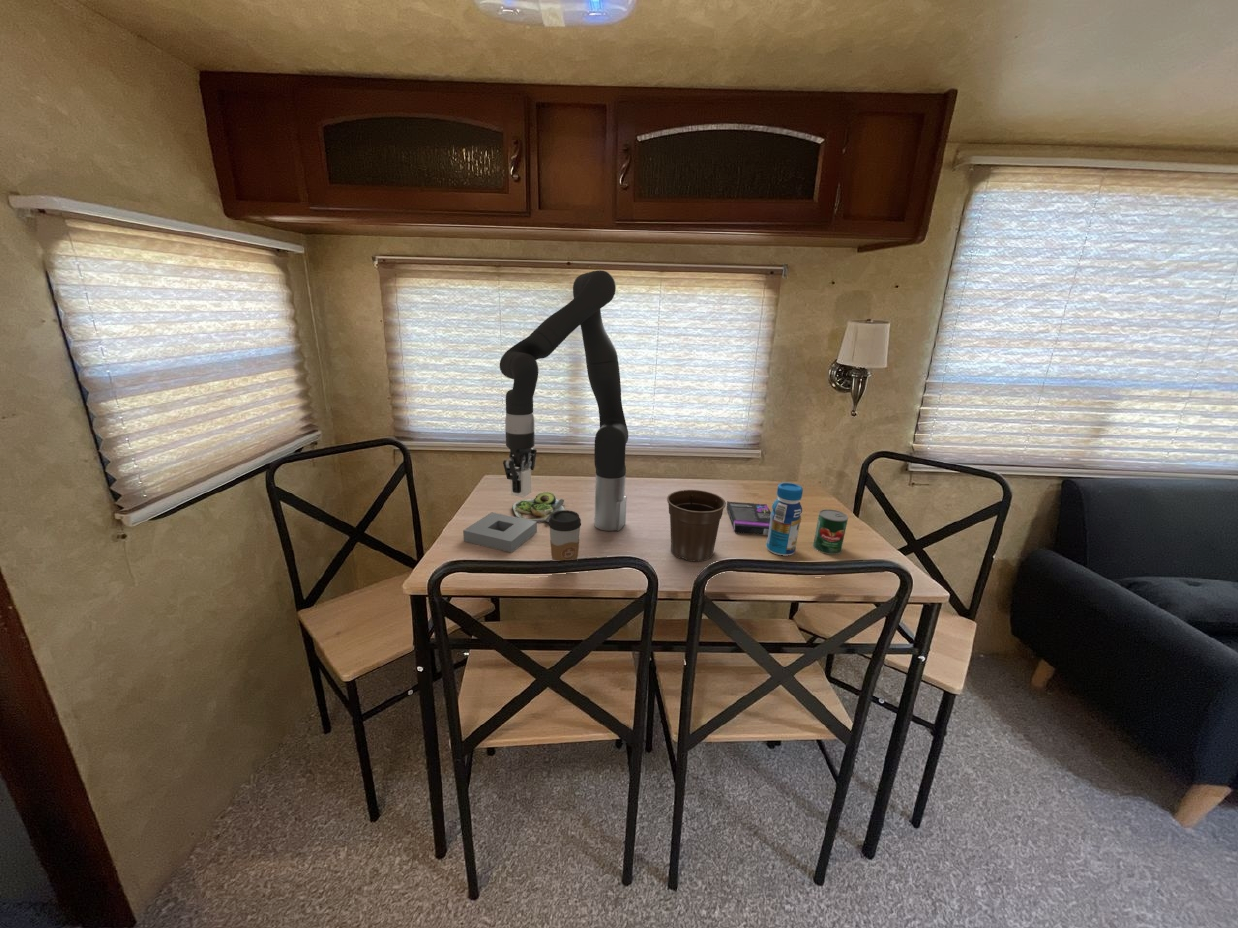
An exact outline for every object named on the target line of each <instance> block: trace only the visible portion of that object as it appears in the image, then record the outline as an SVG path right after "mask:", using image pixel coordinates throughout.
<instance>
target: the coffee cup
mask: <svg viewBox="0 0 1238 928" xmlns="http://www.w3.org/2000/svg"><path fill="white" fill-rule="evenodd" d="M581 526H582V519H581V517H580V515H579V513H578V512H576V511H575V510H574V511H573V510H570V509H569V510H566V509H564V510H561V511H557V512H554V513H552V514H551V518H550V519H549V522H548V527H549V536H550V537H549V539H550V553H551V559H552V560H572V559H577V560H578V558H579V557H578V556H579V549H580V531H581ZM552 560H551V561H552Z"/></svg>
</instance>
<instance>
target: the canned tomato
mask: <svg viewBox="0 0 1238 928" xmlns="http://www.w3.org/2000/svg"><path fill="white" fill-rule="evenodd" d="M848 520H849V516H848V515H847V514H846V513H844V512H842V511H840V510H836V509H831V508H830V509H828V508H826V509H821V510H819V512H818V517H817V522H816V528H815V534H814V538H813V544H812V547H813V548H814V550H816V551H817V550H818V551H817V552H819V551H820V552H819V553H821V552H823V553H822V554H824V553H827V554H826V555H829V554H836V555H839V554H841V553H842V549H843V544H844V539H845V534H846V531H847V530H846V529H847V525H848Z"/></svg>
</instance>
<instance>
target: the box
mask: <svg viewBox="0 0 1238 928" xmlns="http://www.w3.org/2000/svg"><path fill="white" fill-rule="evenodd" d="M726 511H727V514H728V517H729V519H730V520H729V521H730V523H731V526H732V529H733V532H734V533H735V534H747V535H749V534H750V535H763V536H768V532H769V525H770V514H771V512H772V511H771V510H770V508H769V506H768V505H767V503H765V504H763V503H754V502H751V503H750V502H737V501H726Z"/></svg>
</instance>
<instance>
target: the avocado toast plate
mask: <svg viewBox="0 0 1238 928" xmlns="http://www.w3.org/2000/svg"><path fill="white" fill-rule="evenodd" d="M564 502H565V499H563V498H560V499H557V498H556V496H555V495H554V493H552V492H548V491H547V492H545V491H544V492H541V493H538V494H537V495H536V496H535V498H531V499H519V500H517V501H515V502H514V503H513V504H512V511H513V513H514V515H515V517H517V518H522V519H527V520H531V521H536V522H537V523H542V522H543V523H544V522H545V523H549V519H550V518H551V514H552V513H554V512H557V511H561V510H565V508H564V506H563V504H564ZM522 514H526V515H532V516H534V517H533V518H527V517H524V516H523V515H522Z"/></svg>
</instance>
